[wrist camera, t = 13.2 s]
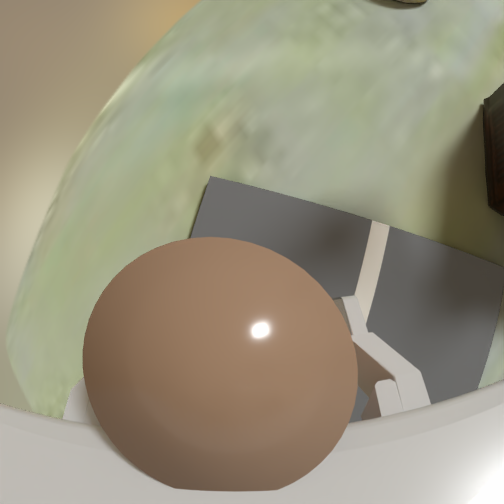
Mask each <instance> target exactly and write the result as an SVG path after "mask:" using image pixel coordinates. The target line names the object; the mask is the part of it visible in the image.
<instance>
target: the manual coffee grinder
mask: <svg viewBox="0 0 504 504" xmlns="http://www.w3.org/2000/svg"><path fill="white" fill-rule="evenodd" d="M483 128H484V143H485V173H486V182H487V192H488V204H489V207H490V208H492V209H493V210H495V211H496V212H498V213H499V214H501V215H502V216H504V83H503V84H502V85H501V86H500V87H499V88H498V89H497V90H496V91H495V92H494V93H493V94H492V95H491V96H490V97H488V98H486V99H484V112H483Z"/></svg>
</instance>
